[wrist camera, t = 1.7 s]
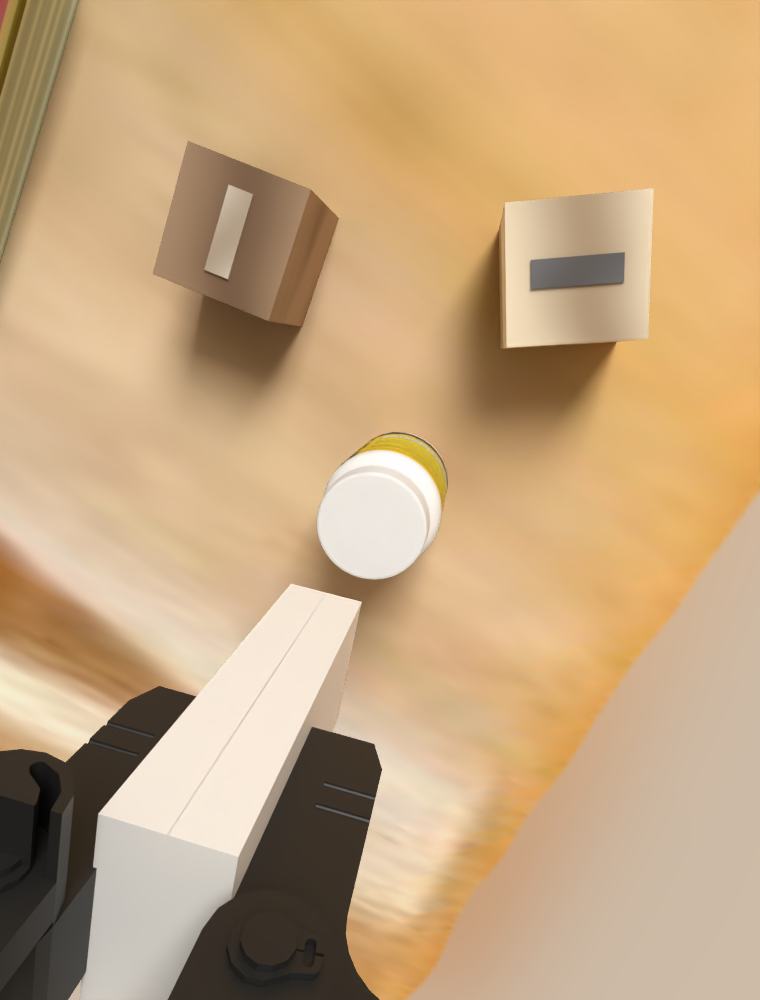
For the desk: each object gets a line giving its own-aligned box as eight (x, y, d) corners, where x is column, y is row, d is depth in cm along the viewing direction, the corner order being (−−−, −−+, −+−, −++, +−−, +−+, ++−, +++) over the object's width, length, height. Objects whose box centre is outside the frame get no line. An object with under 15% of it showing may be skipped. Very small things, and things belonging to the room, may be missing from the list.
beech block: (500, 348, 28) (506, 347, 23) (498, 230, 27) (505, 202, 22) (616, 341, 27) (648, 338, 22) (619, 219, 26) (654, 187, 21)
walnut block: (205, 287, 29) (151, 273, 24) (237, 177, 28) (186, 140, 23) (302, 326, 29) (267, 321, 24) (339, 218, 27) (310, 188, 23)
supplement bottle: (366, 418, 29) (325, 441, 21) (461, 447, 29) (457, 483, 21) (340, 510, 30) (291, 567, 22) (430, 540, 30) (415, 608, 22)
